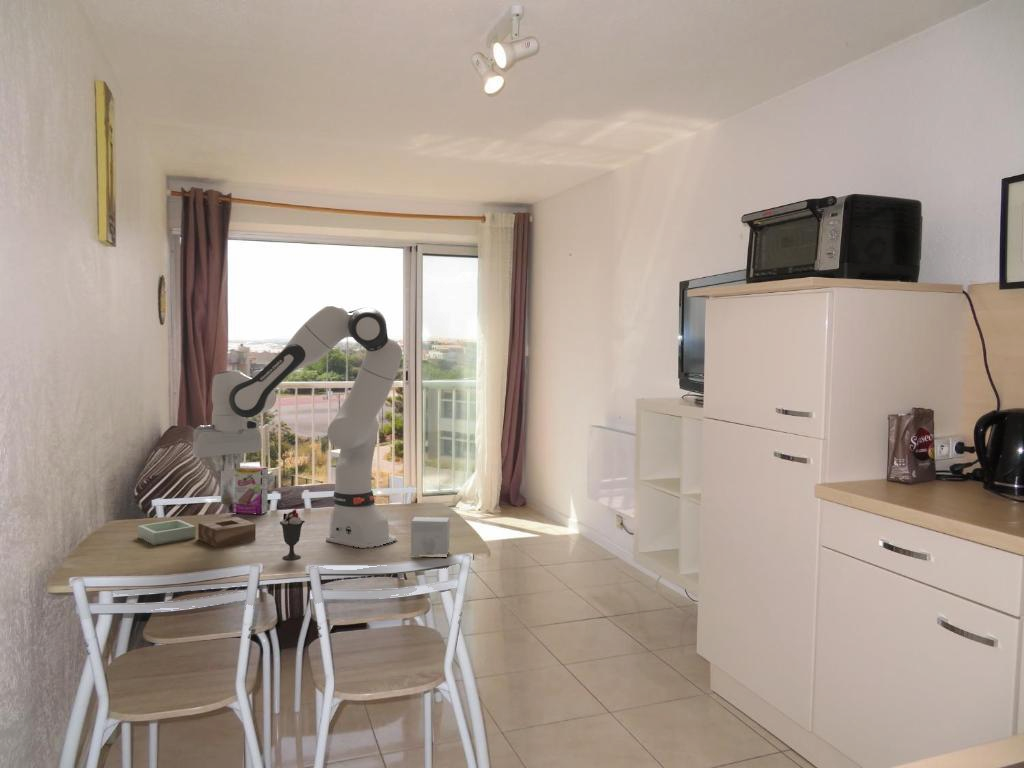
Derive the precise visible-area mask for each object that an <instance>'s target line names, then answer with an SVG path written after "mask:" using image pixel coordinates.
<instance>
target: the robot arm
mask: <svg viewBox="0 0 1024 768" xmlns="http://www.w3.org/2000/svg"><path fill="white" fill-rule="evenodd" d="M345 338H353V340H355V342H356V343H358V344H359V345H360V346H362V348H364V349H366V350H365V356H364V359H363V361H362V364H361V365H360V368H359V370H358V373H357V376H356V378H355V380H354V383H353V385H352V387H351V390H350V391H349V392H348V394H347V396H346V398H345V399H344V401H343V403H342V404H341V406H340V408H339V409H338V411H337V413H336V415H335V417H334V418H333V420H332V421H331V422H330V424H328V428H327V439H328V441H329V442H330V444H331V445H332V446H334V448H337V449H340V451H339V455H338V459H337V462H336V464H335V478H334V479H335V481H334V484H335V489H334V492H333V504H334V507H333V509H332V510H331V512H330V521H329V530H328V531H329V532H328V535H326V537H325V538H326V539H325V541H326V542H330V543H335V544H340V545H344V546H349V547H353V546H354V548H358V547H359V549H368V548H367V547H369V548H375V547H374V546H376V547H380V545H381V546H384V545H383V544H386V543H389V542H392V541H394V540H396V539H397V536H395V535H393V534H391V533H390V528H389V527H390V526H389V522H388V518H387V517H386V516H384V515H383V513H382V511H380V509H379V508H378V507H377V505H376V504H375V503H376V498H377V495H374V493H373V490H372V475H373V474H372V473H373V471H372V470H373V460H374V455H375V450H376V449H375V448H376V442H377V435H378V432H379V430H380V429H379V428H380V427H379V426H380V425H379V421H378V419H377V418H376V417H377V415H378V414H379V412H380V410H381V409H382V407H383V406H384V405H385V403H386V401H387V398H388V396H389V395H390V391H391V390H392V387H393V384H394V381H395V380H396V377H397V374H398V371H399V369H400V366H401V365H400V364H401V361H402V355H403V349H402V347H401V346H400V344H399V343H398V342H396V341H395V340H394V339H392V338H391V339H390V338H389V337H388V328H387V321H386V319H385V317H384V315H383V313H381V312H380V311H379V310H378V309H375V308H372V307H362V308H361V307H360V308H358V309H355V310H350V311H346V309H344V308H343V307H341V306H339V305H337V304H328V305H326V306H324V307H323V308H321V309H320V310H319V311H317V312H316V313H315V314H313V316H311V317H310V318H309V319H308V320H307V321H305V323H304V324H302V326H301V327H300V328H299V329H298V330H297V331H296V333H294V335H293V336H292V337H291V339H290V340H289V342H288V343H287V344H286V345H285V346H284V348H283V349H282V350H281V351H280V352H279V353H278V354H277V355H276V357H274V358H273V359H272V360H271V361H270V362H269V363H268V364H267V365H266V366H265V367H264V368H262V369H261V371H259V372H258V373H257V374H256V375H255V376H254V377H251V376H248V375H247V374H245V373H243V372H242V371H241V370H239V369H231V370H226V371H220V372H218V373H216V374H215V375H214V376H213V380H212V386H211V402H212V405H213V406H212V407H213V408H212V412H211V424H209V425H207V424H206V425H199V426H197V427H196V428H194V430H193V431H192V438H193V442H192V455H193V457H195V458H200V459H201V458H210V457H211V461H212V462H213V464H214V465H215V471H216V472H221V471H222V470H223V465H222V464H221V462H219V460H220V457H221V456H222V455H227V454H235V457H236V459H235V469H239V468H240V466H241V462H242V461H243V459H244V457H245V454H249V453H259V452H260V451H261V450H262V445H263V443H262V442H263V441H262V435H261V432H260V430H259V428H260V422H259V421H255V420H252V419H249V418H253V417H255V416H257V415H259V414H263V413H265V412H268V411H269V410H271V409H272V408H273V407H274V406H275V404H276V402H277V392H276V388H278V386H280V385H281V383H282V382H283V381H285V380H286V379H287V378H288V377H289V376H290V375H291V374H293V373H294V372H296V371H297V370H300V369H302V368H304V367H307V366H311V365H312V364H315V363H317V362H318V361H320V360H321V359H323V358H324V357H325V356H326V355H328V354H329V353H330V352H331V351H332V350H333V349H334V348H335V346H337V345H338V344H339V343H340V342H342V341H343V340H344V339H345ZM396 541H397V540H396ZM392 543H393V542H392ZM389 544H390V543H389ZM386 545H387V544H386Z"/></svg>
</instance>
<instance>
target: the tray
mask: <svg viewBox="0 0 1024 768" xmlns="http://www.w3.org/2000/svg"><path fill="white" fill-rule="evenodd" d="M196 527H197V526H195V525H193V524H191V523H188V522H186V521H184V520H181V519H173V520H168V521H167V520H166V521H161V522H160V521H159V522H153V523H152V522H151V523H148V524H141V525H138V527H137V533H138V534H137V536H138V537H140V538H142V539H144V540H145V542H146V541H147V543H148V542H149V544H150V543H151V545H153V546H158V544H159V545H164V543H165V544H168V543H175V542H180V541H187V540H191V539H196ZM138 537H137V538H138ZM140 538H139V539H140ZM142 539H141V540H142ZM144 540H143V541H144Z"/></svg>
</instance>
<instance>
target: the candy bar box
mask: <svg viewBox="0 0 1024 768" xmlns="http://www.w3.org/2000/svg"><path fill="white" fill-rule="evenodd" d="M268 481H269V467H268V466H254V465H240V468H239V469H235V503H233V504H231V514H237V515H238V514H240V515H241V514H242V515H254V513H256V514H263V512H266V513H268V487H269V486H268V485H269V483H268ZM263 515H264V514H263Z"/></svg>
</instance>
